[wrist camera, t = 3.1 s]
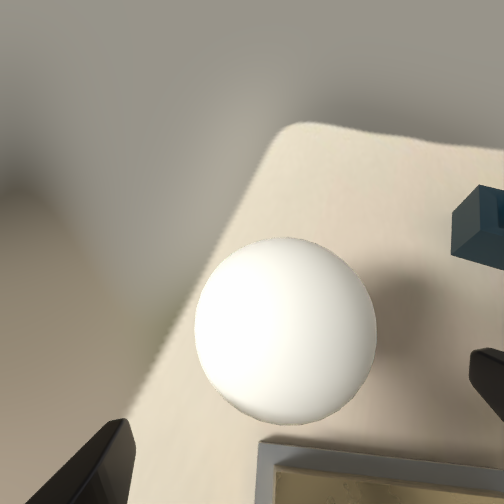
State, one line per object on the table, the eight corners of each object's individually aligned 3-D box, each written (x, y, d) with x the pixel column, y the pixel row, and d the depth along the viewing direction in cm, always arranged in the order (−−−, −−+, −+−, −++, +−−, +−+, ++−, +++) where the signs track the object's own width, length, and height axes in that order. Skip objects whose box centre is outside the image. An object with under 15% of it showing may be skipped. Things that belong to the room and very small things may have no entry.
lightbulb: (287, 297, 19) (318, 174, 9) (344, 384, 16) (473, 335, 6) (205, 342, 17) (142, 250, 8) (252, 446, 14) (241, 501, 5)
